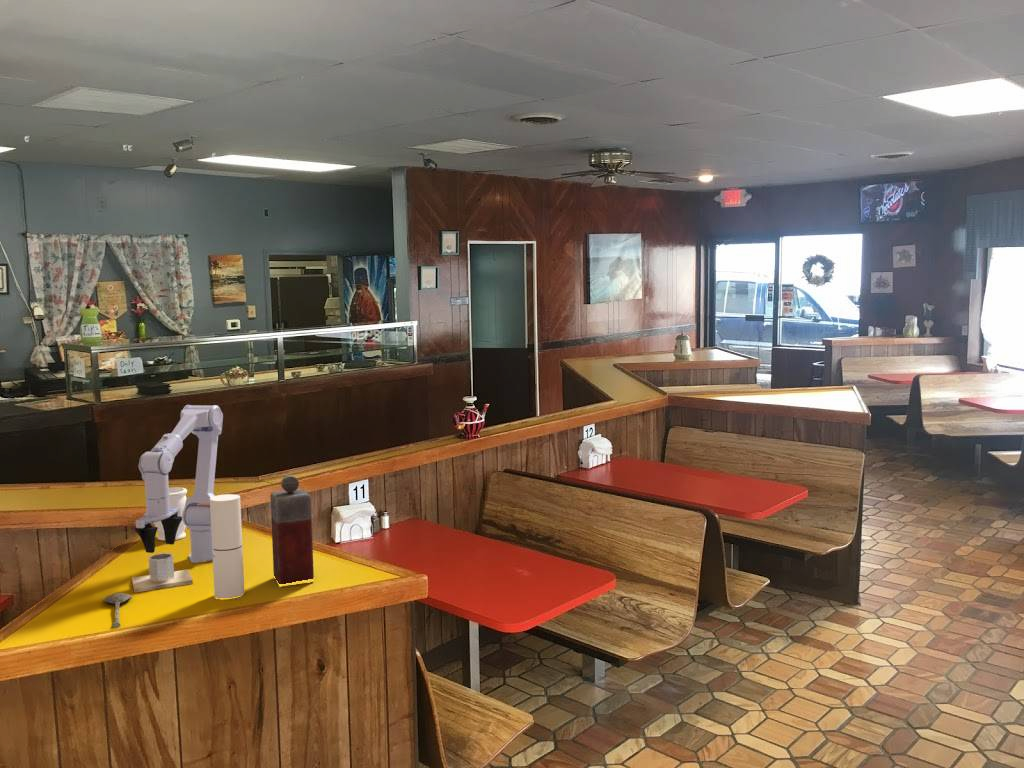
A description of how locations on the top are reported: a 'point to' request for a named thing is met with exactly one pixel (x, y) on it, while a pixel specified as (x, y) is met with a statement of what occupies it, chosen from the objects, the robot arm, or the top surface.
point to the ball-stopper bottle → (291, 533)
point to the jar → (177, 500)
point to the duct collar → (161, 567)
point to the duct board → (145, 584)
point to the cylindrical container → (227, 546)
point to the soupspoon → (117, 604)
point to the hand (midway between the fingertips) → (160, 548)
